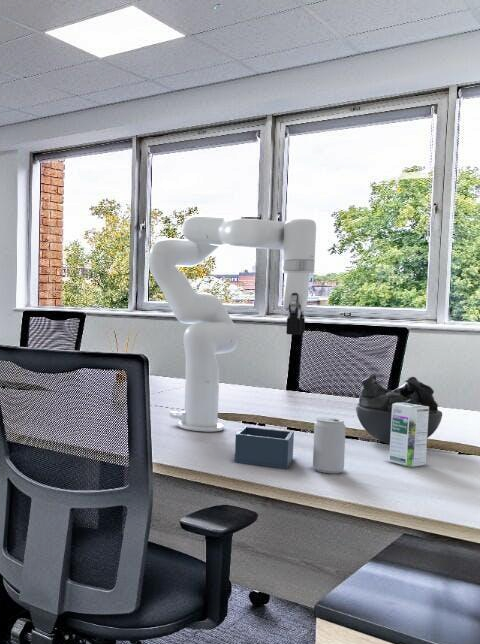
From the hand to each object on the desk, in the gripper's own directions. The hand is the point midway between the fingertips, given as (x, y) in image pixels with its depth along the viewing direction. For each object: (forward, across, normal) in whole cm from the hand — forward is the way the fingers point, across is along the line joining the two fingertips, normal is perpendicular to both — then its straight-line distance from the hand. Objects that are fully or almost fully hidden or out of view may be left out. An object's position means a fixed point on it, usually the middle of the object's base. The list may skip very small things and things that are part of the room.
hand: (295, 333), depth 181 cm
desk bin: (+30, +18, -4) cm, 35 cm away
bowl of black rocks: (+31, -22, +24) cm, 45 cm away
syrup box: (+31, +1, +26) cm, 40 cm away
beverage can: (+31, +20, +10) cm, 38 cm away
